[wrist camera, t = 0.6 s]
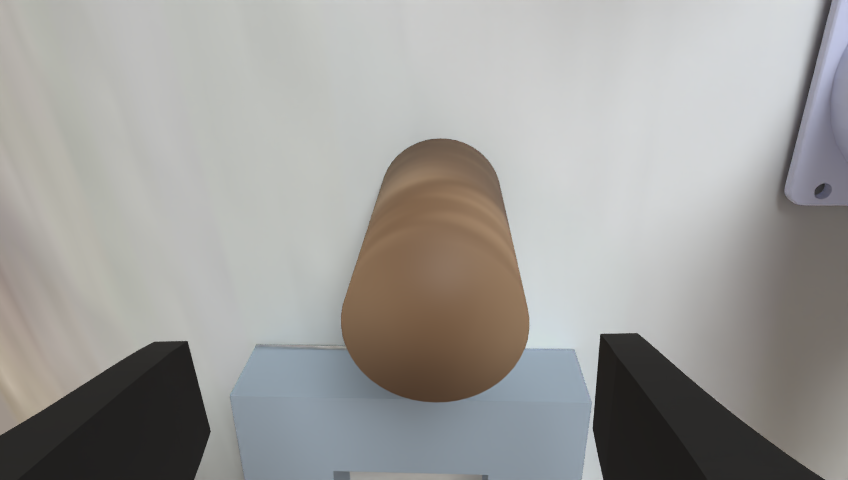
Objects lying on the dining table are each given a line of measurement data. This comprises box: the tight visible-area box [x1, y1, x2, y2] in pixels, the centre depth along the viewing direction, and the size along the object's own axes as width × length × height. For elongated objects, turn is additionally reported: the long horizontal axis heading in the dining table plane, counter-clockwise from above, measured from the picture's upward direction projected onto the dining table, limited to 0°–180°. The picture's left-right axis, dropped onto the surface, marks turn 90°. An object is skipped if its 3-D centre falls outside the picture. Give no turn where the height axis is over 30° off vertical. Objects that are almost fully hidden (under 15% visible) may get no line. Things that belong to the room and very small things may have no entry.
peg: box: [341, 139, 529, 403], centre depth 16 cm, size 4×4×8 cm
